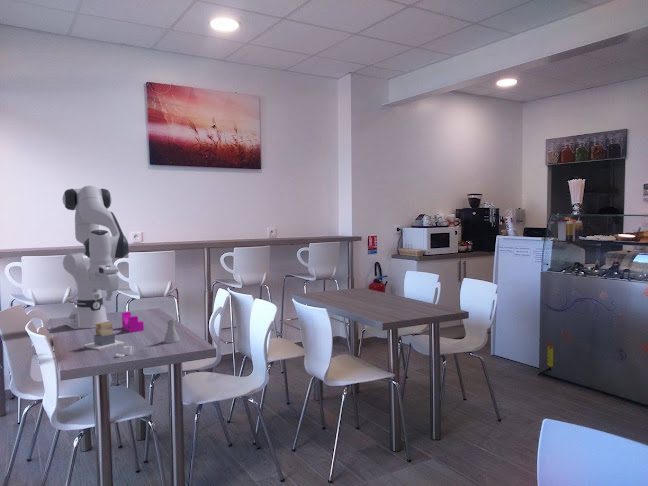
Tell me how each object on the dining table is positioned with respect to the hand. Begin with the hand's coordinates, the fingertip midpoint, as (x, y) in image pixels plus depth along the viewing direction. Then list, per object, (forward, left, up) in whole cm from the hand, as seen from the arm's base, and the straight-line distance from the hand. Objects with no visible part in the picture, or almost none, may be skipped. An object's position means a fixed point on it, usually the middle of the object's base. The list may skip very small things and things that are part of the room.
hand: (102, 299), depth 224 cm
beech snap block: (0, 0, -15) cm, 15 cm away
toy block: (-19, +26, -21) cm, 38 cm away
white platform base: (0, 0, -20) cm, 20 cm away
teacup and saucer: (+20, -4, -21) cm, 29 cm away
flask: (+20, +20, -21) cm, 35 cm away
